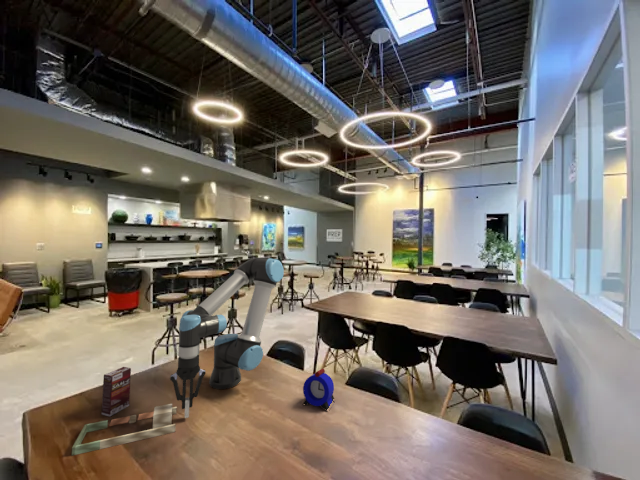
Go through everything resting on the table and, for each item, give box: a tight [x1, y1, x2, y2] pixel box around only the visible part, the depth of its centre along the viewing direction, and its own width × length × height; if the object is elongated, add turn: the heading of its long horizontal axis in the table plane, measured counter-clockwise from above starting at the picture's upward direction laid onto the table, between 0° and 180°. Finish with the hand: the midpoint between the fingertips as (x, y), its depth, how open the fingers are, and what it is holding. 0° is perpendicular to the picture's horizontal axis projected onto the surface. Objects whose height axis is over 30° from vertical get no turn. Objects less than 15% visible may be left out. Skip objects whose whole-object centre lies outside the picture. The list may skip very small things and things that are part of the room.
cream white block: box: [152, 403, 173, 429], centre depth 108 cm, size 6×6×6 cm
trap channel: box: [71, 406, 178, 456], centre depth 106 cm, size 30×17×2 cm, turn 115°
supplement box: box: [101, 366, 132, 417], centre depth 117 cm, size 9×5×16 cm, turn 163°
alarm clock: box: [302, 368, 335, 411], centre depth 127 cm, size 12×12×15 cm
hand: (186, 415), depth 112 cm, fingers closed
